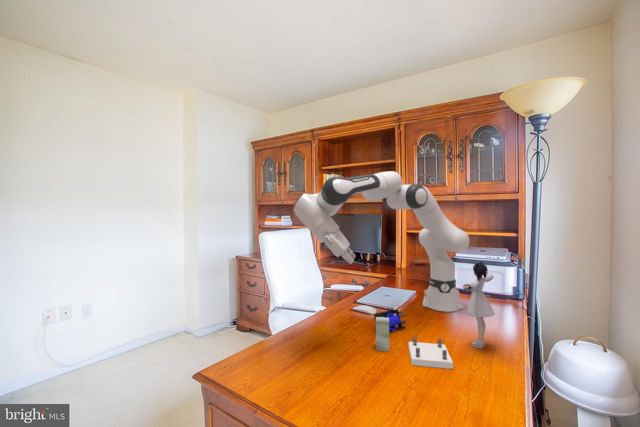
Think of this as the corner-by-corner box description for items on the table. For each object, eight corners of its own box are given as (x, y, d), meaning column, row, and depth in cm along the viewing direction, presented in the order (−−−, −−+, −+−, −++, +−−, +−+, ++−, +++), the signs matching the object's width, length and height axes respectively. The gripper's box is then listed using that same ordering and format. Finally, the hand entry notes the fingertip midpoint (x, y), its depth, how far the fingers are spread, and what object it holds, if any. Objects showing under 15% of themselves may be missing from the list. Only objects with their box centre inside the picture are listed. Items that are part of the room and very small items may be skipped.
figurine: (479, 332, 116) (479, 256, 116) (504, 339, 110) (504, 259, 110) (454, 355, 99) (454, 265, 98) (481, 364, 93) (482, 269, 92)
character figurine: (409, 329, 121) (381, 338, 114) (397, 322, 127) (369, 329, 120) (410, 311, 120) (381, 318, 113) (397, 304, 126) (369, 311, 119)
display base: (408, 347, 105) (408, 334, 105) (444, 350, 103) (444, 337, 102) (411, 365, 93) (411, 351, 93) (452, 369, 91) (452, 354, 91)
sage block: (376, 344, 108) (376, 317, 107) (388, 345, 107) (388, 317, 106) (375, 350, 103) (375, 321, 103) (389, 351, 102) (389, 322, 102)
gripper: (329, 227, 97) (358, 259, 95) (337, 224, 117) (361, 250, 115) (315, 240, 98) (343, 271, 96) (325, 235, 118) (349, 261, 116)
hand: (353, 260), depth 106 cm, fingers open, 8 cm apart
